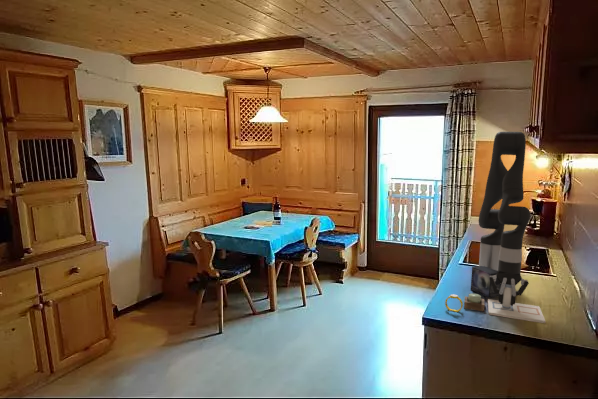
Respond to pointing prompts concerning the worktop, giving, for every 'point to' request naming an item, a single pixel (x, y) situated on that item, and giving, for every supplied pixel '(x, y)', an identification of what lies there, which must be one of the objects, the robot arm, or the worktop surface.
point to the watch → (453, 297)
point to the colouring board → (516, 311)
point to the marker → (507, 296)
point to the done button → (474, 298)
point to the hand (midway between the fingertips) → (506, 304)
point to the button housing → (474, 305)
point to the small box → (484, 281)
